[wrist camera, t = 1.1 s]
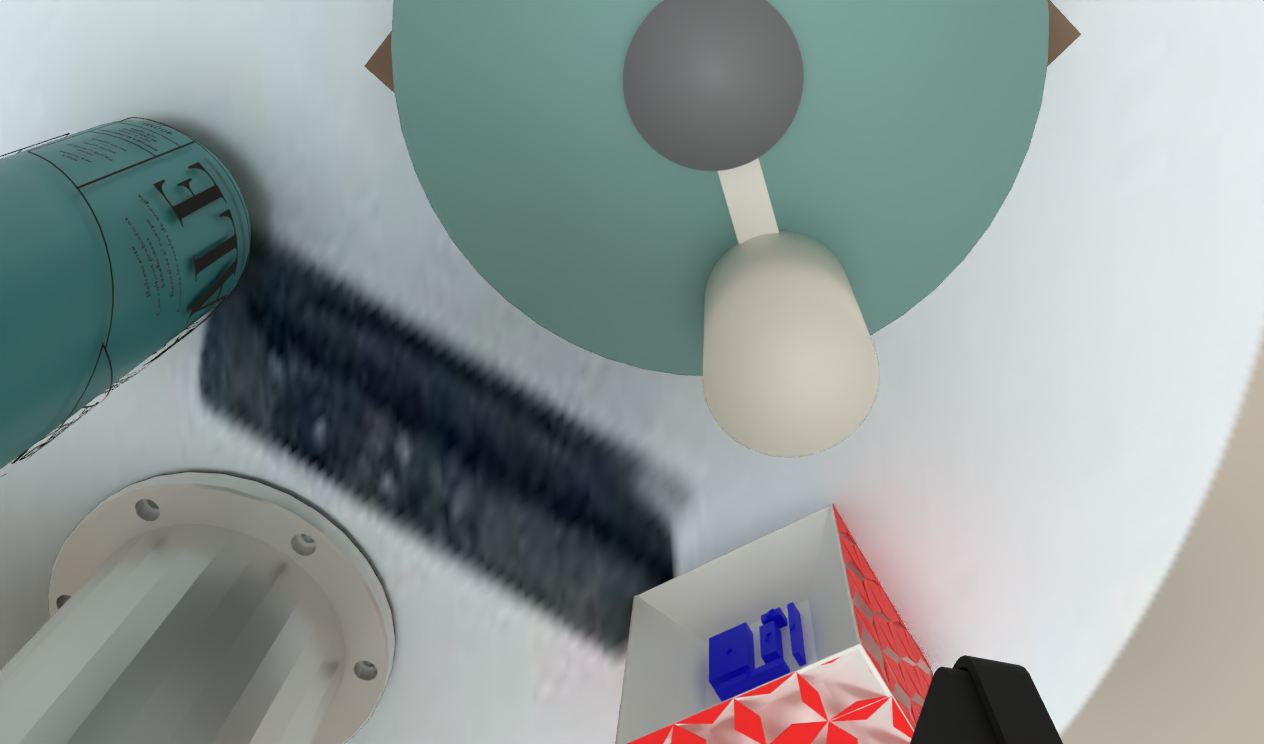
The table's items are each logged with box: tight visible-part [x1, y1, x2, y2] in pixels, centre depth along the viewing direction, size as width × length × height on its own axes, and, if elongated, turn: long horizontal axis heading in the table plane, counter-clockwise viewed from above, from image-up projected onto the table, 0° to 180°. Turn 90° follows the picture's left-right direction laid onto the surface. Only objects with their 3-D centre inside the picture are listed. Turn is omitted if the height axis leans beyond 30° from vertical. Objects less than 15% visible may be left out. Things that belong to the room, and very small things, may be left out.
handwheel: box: [391, 0, 1049, 457], centre depth 23 cm, size 15×15×6 cm
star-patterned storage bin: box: [616, 504, 933, 744], centre depth 35 cm, size 8×8×8 cm
